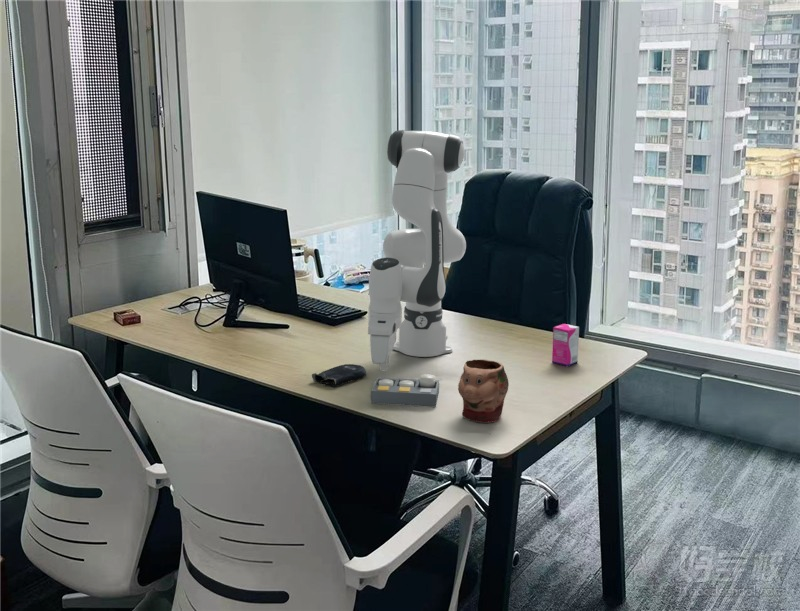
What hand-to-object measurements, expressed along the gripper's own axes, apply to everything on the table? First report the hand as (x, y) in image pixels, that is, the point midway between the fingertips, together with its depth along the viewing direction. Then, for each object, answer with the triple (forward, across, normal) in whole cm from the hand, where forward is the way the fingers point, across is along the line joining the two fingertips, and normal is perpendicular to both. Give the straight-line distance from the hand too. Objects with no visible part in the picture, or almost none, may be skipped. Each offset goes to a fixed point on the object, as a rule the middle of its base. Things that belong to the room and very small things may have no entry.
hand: (384, 368), depth 228 cm
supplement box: (+8, -36, +50) cm, 62 cm away
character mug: (+7, +11, +27) cm, 30 cm away
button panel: (+7, +3, +6) cm, 10 cm away
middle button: (+6, +1, +6) cm, 9 cm away
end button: (+6, +1, +1) cm, 6 cm away
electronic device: (+8, -10, -14) cm, 19 cm away
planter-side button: (+4, +1, +12) cm, 12 cm away
